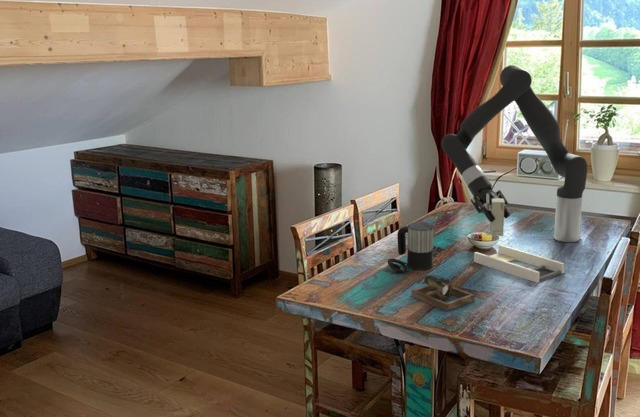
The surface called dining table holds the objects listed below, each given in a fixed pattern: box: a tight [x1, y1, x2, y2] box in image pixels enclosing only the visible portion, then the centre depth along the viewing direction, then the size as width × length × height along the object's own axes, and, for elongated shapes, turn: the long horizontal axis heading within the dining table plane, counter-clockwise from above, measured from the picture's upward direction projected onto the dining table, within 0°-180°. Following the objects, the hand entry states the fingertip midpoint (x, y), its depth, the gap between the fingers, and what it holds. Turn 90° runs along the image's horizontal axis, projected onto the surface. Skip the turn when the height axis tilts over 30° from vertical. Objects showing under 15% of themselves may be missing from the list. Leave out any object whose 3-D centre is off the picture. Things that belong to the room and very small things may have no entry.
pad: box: [490, 252, 515, 263], centre depth 242 cm, size 11×8×1 cm
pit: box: [532, 265, 562, 283], centre depth 227 cm, size 11×7×1 cm, turn 125°
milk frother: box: [387, 221, 435, 273], centre depth 236 cm, size 14×16×15 cm
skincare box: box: [489, 198, 505, 237], centre depth 238 cm, size 6×4×12 cm
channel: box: [473, 244, 565, 283], centre depth 235 cm, size 14×27×4 cm, turn 35°
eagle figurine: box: [423, 275, 454, 300], centre depth 210 cm, size 8×7×9 cm
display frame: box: [411, 281, 475, 312], centre depth 210 cm, size 12×15×2 cm
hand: (500, 218), depth 237 cm, fingers closed on skincare box, 7 cm apart
